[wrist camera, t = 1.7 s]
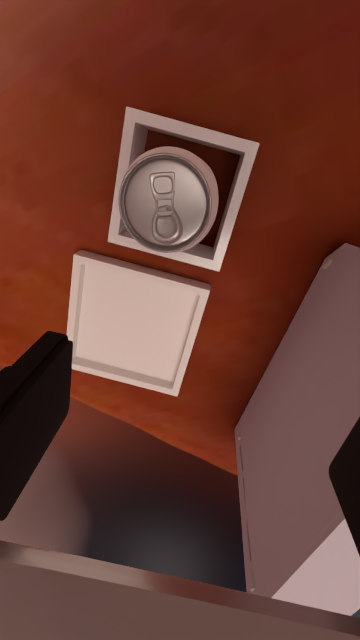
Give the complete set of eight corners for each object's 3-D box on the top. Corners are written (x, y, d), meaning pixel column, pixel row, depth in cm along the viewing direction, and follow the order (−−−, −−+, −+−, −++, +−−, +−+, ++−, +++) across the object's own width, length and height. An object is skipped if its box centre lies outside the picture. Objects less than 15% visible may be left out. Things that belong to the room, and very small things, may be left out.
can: (152, 229, 31) (120, 261, 20) (144, 156, 28) (102, 149, 18) (218, 225, 30) (220, 257, 20) (216, 150, 27) (217, 138, 17)
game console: (229, 432, 42) (240, 629, 24) (333, 236, 30) (510, 337, 12) (270, 445, 42) (311, 648, 24) (389, 255, 30) (646, 382, 12)
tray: (81, 249, 33) (73, 254, 31) (210, 284, 33) (210, 290, 31) (70, 357, 39) (63, 366, 37) (179, 386, 39) (177, 396, 37)
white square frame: (141, 116, 27) (126, 106, 22) (252, 147, 27) (259, 143, 23) (123, 231, 31) (107, 241, 27) (218, 257, 32) (219, 271, 27)
